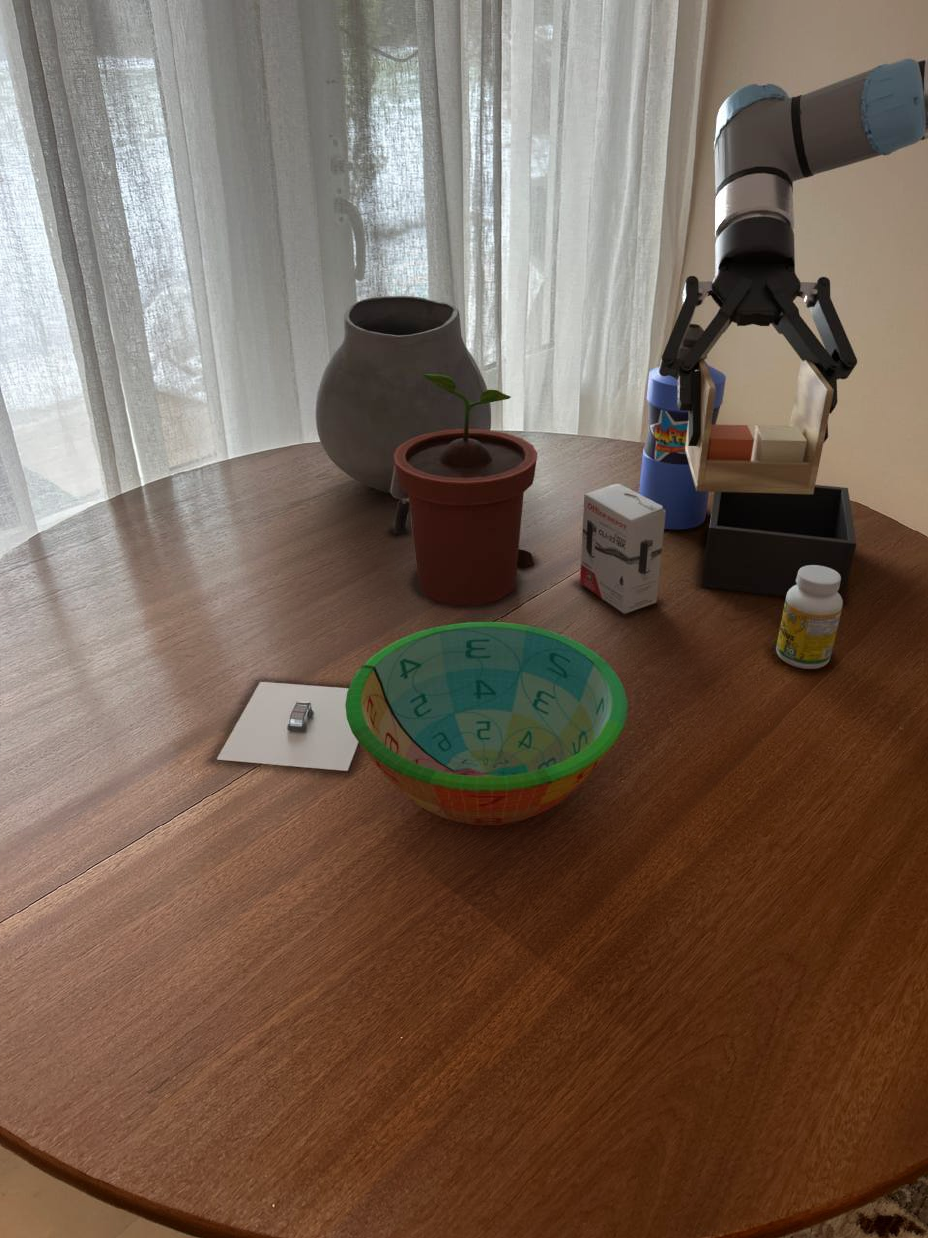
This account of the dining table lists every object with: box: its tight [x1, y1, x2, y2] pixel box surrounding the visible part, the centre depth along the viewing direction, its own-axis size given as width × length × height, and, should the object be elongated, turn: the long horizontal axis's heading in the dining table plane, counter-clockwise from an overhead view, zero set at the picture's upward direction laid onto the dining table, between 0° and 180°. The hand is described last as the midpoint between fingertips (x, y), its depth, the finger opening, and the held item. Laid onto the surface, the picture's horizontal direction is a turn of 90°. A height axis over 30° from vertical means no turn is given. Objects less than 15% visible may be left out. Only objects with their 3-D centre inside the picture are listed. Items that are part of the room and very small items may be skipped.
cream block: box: [751, 425, 807, 462], centre depth 89 cm, size 4×4×4 cm
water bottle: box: [638, 323, 727, 530], centre depth 118 cm, size 9×9×25 cm
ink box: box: [579, 483, 666, 615], centre depth 104 cm, size 8×5×12 cm, turn 31°
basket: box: [700, 484, 857, 602], centre depth 111 cm, size 16×16×8 cm
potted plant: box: [390, 374, 538, 606], centre depth 106 cm, size 18×22×25 cm
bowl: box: [345, 621, 628, 826], centre depth 76 cm, size 22×22×10 cm
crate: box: [685, 359, 834, 494], centre depth 89 cm, size 11×11×10 cm
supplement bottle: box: [775, 565, 844, 670], centre depth 93 cm, size 5×5×10 cm
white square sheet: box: [216, 681, 359, 772], centre depth 86 cm, size 12×12×2 cm
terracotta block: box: [707, 424, 754, 461], centre depth 89 cm, size 4×4×4 cm
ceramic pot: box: [315, 295, 492, 495], centre depth 128 cm, size 24×24×25 cm
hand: (756, 441), depth 87 cm, fingers closed on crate, 11 cm apart
